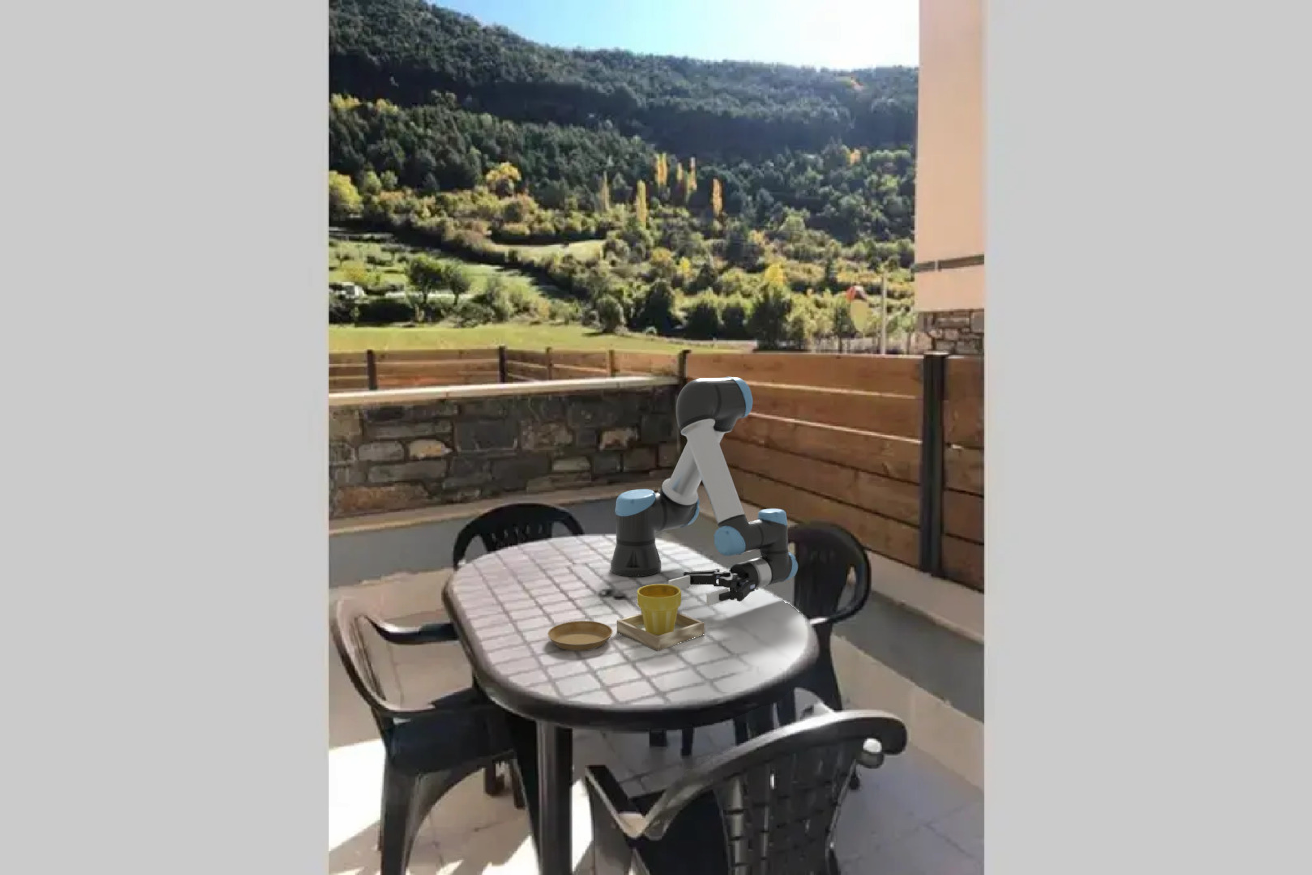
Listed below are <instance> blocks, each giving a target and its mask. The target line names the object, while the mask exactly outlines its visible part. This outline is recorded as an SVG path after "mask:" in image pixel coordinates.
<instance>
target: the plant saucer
mask: <svg viewBox="0 0 1312 875" xmlns="http://www.w3.org/2000/svg"><path fill="white" fill-rule="evenodd" d="M613 632H614V631H613V629H612V627H610V626H609V625H608V624H605V623H602V622H599V621H591V620H576V621H570V622H568V621H567V622H563V623H561V624H557V625H555V626H553V627H552V628H550V629H549V630H548V632H547V635H548V638H549V639H550V640H551V641H552V643H554V644H555V645H556V646H557V647H558V648H560V649H563V650H565V651H570V652H583V651H584V652H586V651H591V650H595V649H597V648H600V647H601V646H603V645H604V644H605V643H606V642H607V641H608V640H609V639H610V637H611V636H612V635H613Z"/></svg>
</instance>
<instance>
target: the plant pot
mask: <svg viewBox="0 0 1312 875" xmlns="http://www.w3.org/2000/svg"><path fill="white" fill-rule="evenodd" d="M636 601H637V606H638V608H640V612H641V613H642V616H643V621H644V625H645V630H646V631H647V632H649V633H651V634H653V635H662V634H666V633H669V632H672V631H674V627H675V621H676V616H677V612H678V610H679V607H681V605H682V589H679V588H678V587H676V586H673V585H669V583H668V584H666V583H653V584H648V585H644V586H641V587H639V588H638V589H637V590H636Z"/></svg>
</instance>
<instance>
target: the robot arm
mask: <svg viewBox="0 0 1312 875" xmlns="http://www.w3.org/2000/svg"><path fill="white" fill-rule="evenodd" d="M753 401H754V400H753V395H752V391H751V388H750V386H749V385H748V384H747V382H746V381H745V380H743V378H740V377H736V376H735V377H734V376H733V377H732V376H725V377H711V378H710V377H709V378H701V377H700V378H696V379H693V380H691V381H690V380H689V382H687V383H686V384H685V385H684V386H683V388H682V389H681V390H680V391H679V394H678V397H677V400H676V405H675V416H676V422H677V426H678V428H679V431H680V434H681V436H685V437H686V440H687V441H686V445H684V448H683V451H682V453H681V455H680V457H679V459H678V462H677V463H676V466H675V468H674V470H673V473H672V474H671V476H670V477H669V478H666V479H665V480H664V481H663V482H662V484H661V486H660V488H659V490H658V491H657V492H655V491H654V490H653V489H648V488H640V489H632V490H627V491H625V492H622V493H620V494H619V495H618V496H617V498H616V501H615V509H614V512H615V539H616V541H615V542H616V543H615V547H614V551H613V554H612V559H611V560H610V571H611V572H612V573H614V574H615V575H619V576H623V577H648V576H653V575H656V574H658V573H659V572H661V571H662V561H661V558H660V555H659V551H658V548H657V545H656V533H657V532H662V531H668V530H673V529H681V528H685V527H686V526H689V525H691V524H693V523H694V522H695V521H696V520H697V518H698V517H699V513H700V509H701V507H700V506H699V505H701V503H700V502H701V501H700V498H699V493H698V488H699V485H700V484H701V482H702V484H703V487H704V489H705V492H706V496H707V498H708V501H709V504H710V506H711V508H712V512H713V515H714V517H715V521H716V523H717V526H718V528H717V529H716V530H715V532H714V535H713V539H714V541H713V542H714V547H715V548H716V551H717V552H718V553H719V554H721V555H723V556H725V557H730V556H731V557H732V556H737V555H739V556H740V555H742V554H745V553H749V552H753V551H758V550H759V557H755V558H752V559H748V560H746V561H742V562H738V563H734V564H733V565H732V566H731V567H730V569H729V570H725V571H720V568H714V569H709V570H705V569H704V570H695V571H693V570H691V571H684V572H683V573H682V574H683V576H679V577H676V578H672V579H669V580H668V585H673V586H676V587H678V588H679V589H680V590H683V589H686V588H689V587H691V585H693V586H697V585H698V586H699V585H700V586H701V585H702V586H705V585H709V586H710V585H711V586H712V585H713V587H714V588H715V587H718V588H719V587H723V588H721V589H718V590H715V591H712V592H709V593H706V598H705V599H706V606H708V607H709V606H713V605H715V604H720V603H723V602H726V601H728V600H730V601H734V600H736V601H737V602H742V601H743V600H744V599H745V598H746V597H747V596H748V595H749V594H750V593H752V592H755V590H756V591H757V590H758V591H759V589H761V588H764V587H768V586H771V585H774V584H778V583H779V584H780V583H784V582H785V581H788V580H790V579H792V578H794V577H795V576H796V575H797V572H798V569H799V564H798V562H797V559H796V556H795V555H794V554H793V553H792V552H790V551H789V540H788V539H789V536H788V532H789V531H788V526H789V525H788V518H787V513H786V511H785V510H784V509H780V508H766V509H765V508H764V509H760V510H759V511H758V513H757V519H755V520H751V521H748V519H747V516H746V514H745V510H744V508H743V505H742V503H741V500H740V497H739V495H738V492H737V489H736V487H735V484H734V481H733V478H732V475H731V472H730V469H729V467H728V464H727V460H726V459H725V456H724V453H723V451H722V448H721V445H720V443H721V441H722V439H723V437H724V435H725V434H726V433H731V432H732V431H733V428H734V427H735V425H736V423H737V421H738V420H739V419H744V418H747V417H748V415H749V414H750V413H751V411H752V408H753V403H754V402H753ZM717 581H718V582H717Z"/></svg>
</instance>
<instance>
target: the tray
mask: <svg viewBox="0 0 1312 875" xmlns="http://www.w3.org/2000/svg"><path fill="white" fill-rule="evenodd" d="M705 625H706V623H705V622H704V621H701V620H700V619H696V618H694V617H691V616H689V615H686V614H684V613H681V612H678V611H677V616H676V621H675V627H674V631H672V632H669V633H666V634H662V635H653V634H651V633H649V632H647V631H646V630H645V625H644V621H643V616H642V612H641V613H638V614H634V615H630V616H628V617H627V616H626V617H624V618H621V619H616V633H617V634H619V633H620V634H619V635H621V634H622V635H621V636H624V637H625V638H627V637H628V638H627V639H629V640H632V641H635V642H637V643H638V642H639V643H638V644H640V643H641V645H643V646H645V647H648V648H649V649H651V650H653V651H656V652H658V650H659V651H661V650H664V649H668V648H670V647H674V646H676V645H678V643H679V644H681V643H680V642H682V643H684V641H685V642H688V641H690V640H689V639H691V640H693V639H692V638H694V637H697V638H700V637H702V636H701V635H703V634H705V631H706V630H705V628H706V627H705ZM705 635H706V634H705ZM699 636H700V637H699ZM703 636H704V635H703ZM694 639H695V638H694ZM687 640H688V641H687ZM675 644H676V645H675ZM669 646H670V647H669Z"/></svg>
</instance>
